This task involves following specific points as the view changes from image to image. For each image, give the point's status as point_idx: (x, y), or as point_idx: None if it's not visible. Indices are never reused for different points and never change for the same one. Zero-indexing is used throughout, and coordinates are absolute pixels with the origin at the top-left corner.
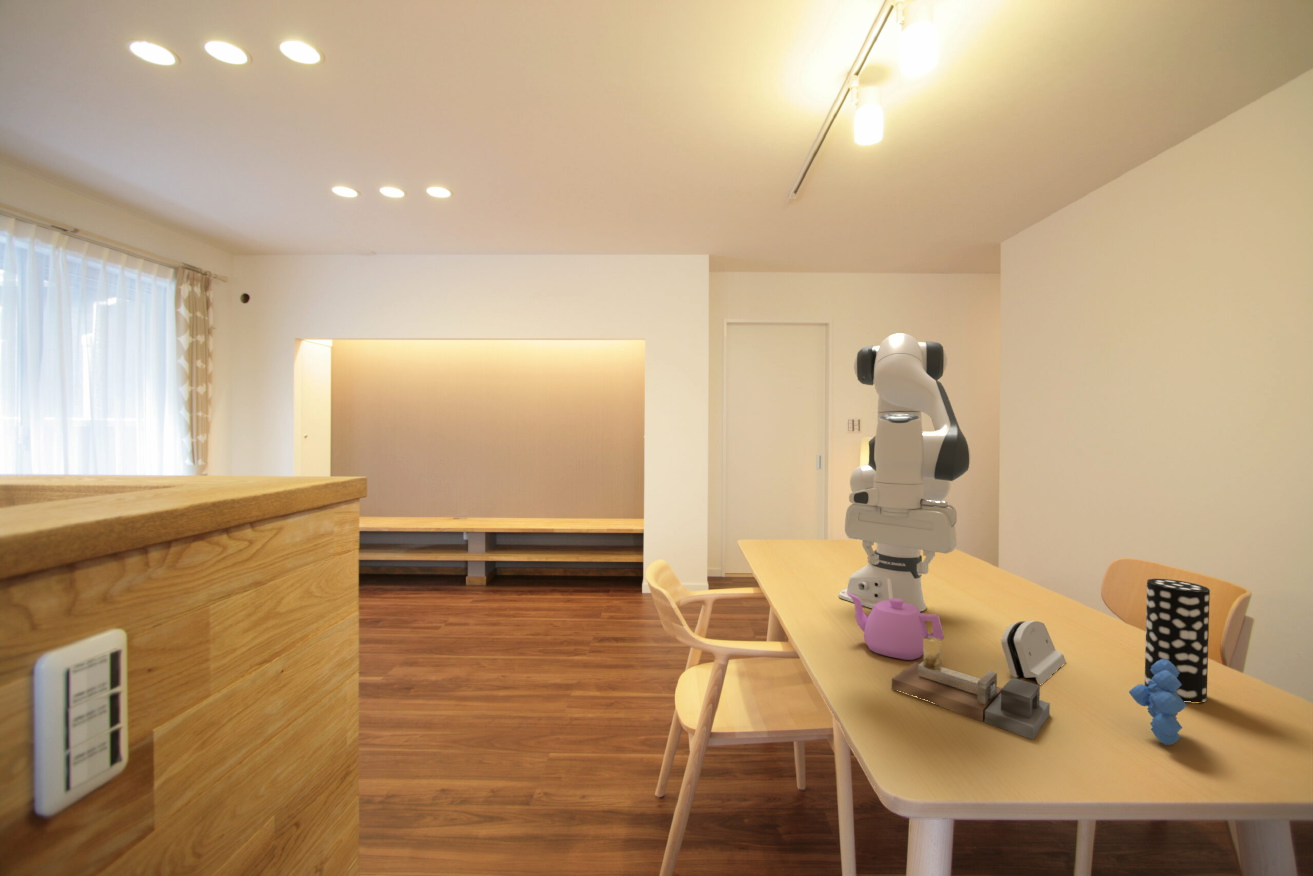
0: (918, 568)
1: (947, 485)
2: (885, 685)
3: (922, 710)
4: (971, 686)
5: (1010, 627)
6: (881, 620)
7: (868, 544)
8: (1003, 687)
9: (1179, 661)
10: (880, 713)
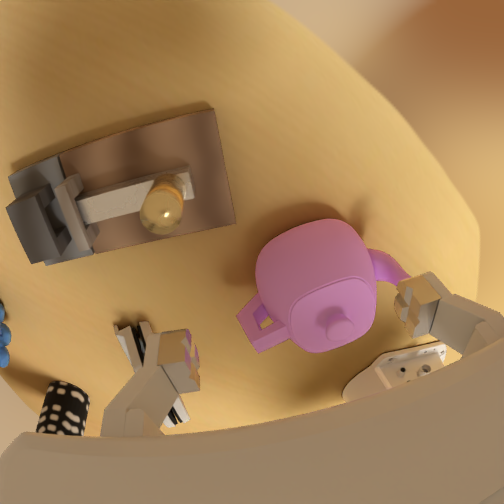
0: (176, 343)
1: None
2: (232, 113)
3: (134, 90)
4: (93, 193)
5: None
6: (337, 260)
7: (483, 333)
8: (37, 206)
9: (44, 414)
10: (169, 15)
